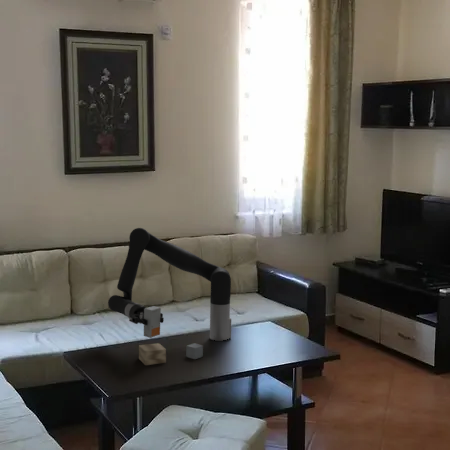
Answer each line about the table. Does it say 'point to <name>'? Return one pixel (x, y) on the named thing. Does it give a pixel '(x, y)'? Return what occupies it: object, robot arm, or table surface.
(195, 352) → the slate block
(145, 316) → the skincare box
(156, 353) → the beech block
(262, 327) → the table surface
